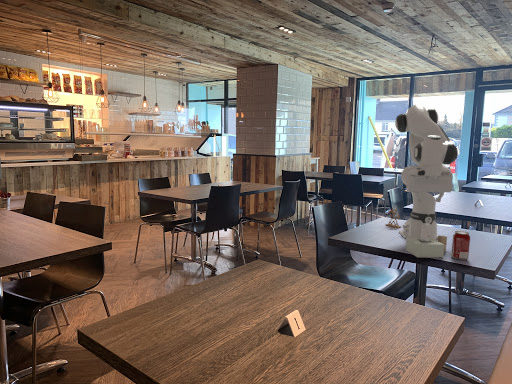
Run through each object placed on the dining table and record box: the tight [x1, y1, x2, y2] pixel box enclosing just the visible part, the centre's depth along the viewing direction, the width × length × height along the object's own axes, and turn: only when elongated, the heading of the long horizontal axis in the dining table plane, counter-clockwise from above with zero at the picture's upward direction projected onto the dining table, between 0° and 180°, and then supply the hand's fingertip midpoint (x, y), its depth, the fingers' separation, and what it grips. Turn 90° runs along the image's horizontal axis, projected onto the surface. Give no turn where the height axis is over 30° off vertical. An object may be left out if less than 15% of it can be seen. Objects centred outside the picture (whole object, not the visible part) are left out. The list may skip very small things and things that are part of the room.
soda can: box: [450, 230, 471, 261], centre depth 175 cm, size 7×7×12 cm
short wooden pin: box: [436, 235, 448, 253], centre depth 187 cm, size 4×4×7 cm
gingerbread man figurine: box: [385, 206, 402, 230], centre depth 238 cm, size 9×4×12 cm, turn 35°
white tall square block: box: [420, 223, 431, 243], centre depth 181 cm, size 4×4×14 cm
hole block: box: [405, 238, 445, 258], centre depth 182 cm, size 12×12×6 cm
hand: (428, 201), depth 179 cm, fingers open, 8 cm apart
